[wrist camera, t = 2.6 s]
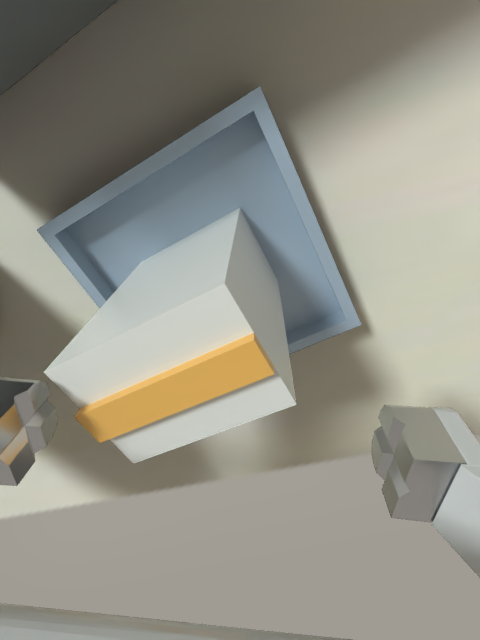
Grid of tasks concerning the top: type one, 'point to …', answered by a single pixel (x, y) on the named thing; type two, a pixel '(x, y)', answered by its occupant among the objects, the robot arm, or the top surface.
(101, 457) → the top surface
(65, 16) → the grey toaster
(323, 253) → the slate tray
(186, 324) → the white orange-striped block
